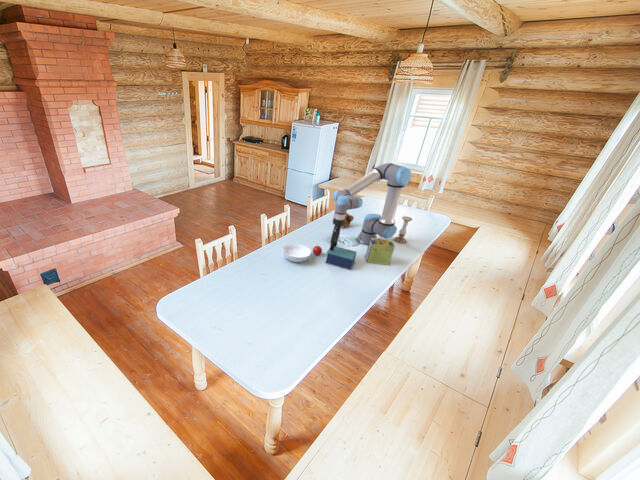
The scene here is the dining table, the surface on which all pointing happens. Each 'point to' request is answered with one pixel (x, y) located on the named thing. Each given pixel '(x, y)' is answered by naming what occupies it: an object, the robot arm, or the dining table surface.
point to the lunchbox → (340, 261)
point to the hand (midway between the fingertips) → (333, 247)
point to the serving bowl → (296, 252)
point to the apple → (317, 250)
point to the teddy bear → (347, 220)
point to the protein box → (380, 251)
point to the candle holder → (403, 230)
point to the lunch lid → (342, 252)
